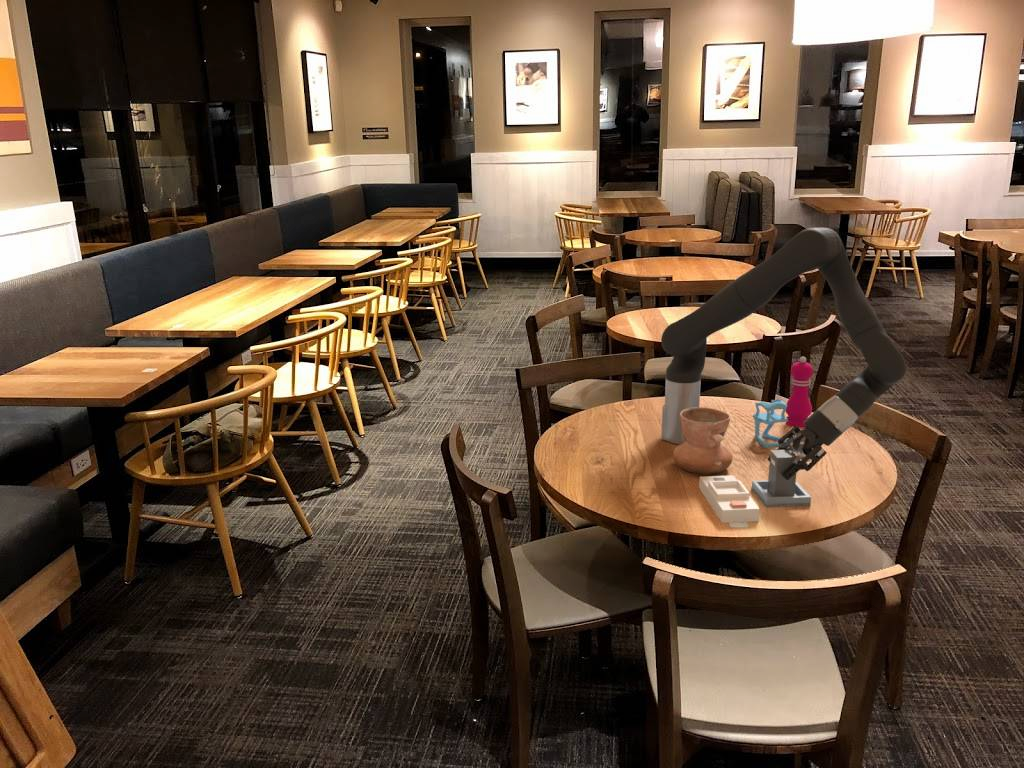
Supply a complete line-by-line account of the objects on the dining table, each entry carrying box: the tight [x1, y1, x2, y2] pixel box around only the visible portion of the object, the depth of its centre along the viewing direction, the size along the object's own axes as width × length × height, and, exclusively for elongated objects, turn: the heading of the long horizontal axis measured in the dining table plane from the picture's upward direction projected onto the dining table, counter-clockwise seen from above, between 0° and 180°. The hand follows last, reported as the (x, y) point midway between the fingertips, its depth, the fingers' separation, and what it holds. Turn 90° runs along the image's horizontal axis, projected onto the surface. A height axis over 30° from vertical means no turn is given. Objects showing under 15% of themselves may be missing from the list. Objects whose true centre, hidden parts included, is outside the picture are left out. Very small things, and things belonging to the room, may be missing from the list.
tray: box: [751, 479, 812, 508], centre depth 187 cm, size 10×10×2 cm
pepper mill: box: [785, 356, 814, 429], centre depth 230 cm, size 7×7×20 cm
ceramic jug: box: [672, 406, 734, 475], centre depth 203 cm, size 18×14×14 cm
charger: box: [767, 449, 797, 497], centre depth 186 cm, size 5×5×10 cm
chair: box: [752, 399, 788, 449], centre depth 219 cm, size 8×8×12 cm
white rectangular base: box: [698, 474, 761, 524], centre depth 183 cm, size 18×8×4 cm, turn 3°
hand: (776, 469), depth 185 cm, fingers open, 8 cm apart
